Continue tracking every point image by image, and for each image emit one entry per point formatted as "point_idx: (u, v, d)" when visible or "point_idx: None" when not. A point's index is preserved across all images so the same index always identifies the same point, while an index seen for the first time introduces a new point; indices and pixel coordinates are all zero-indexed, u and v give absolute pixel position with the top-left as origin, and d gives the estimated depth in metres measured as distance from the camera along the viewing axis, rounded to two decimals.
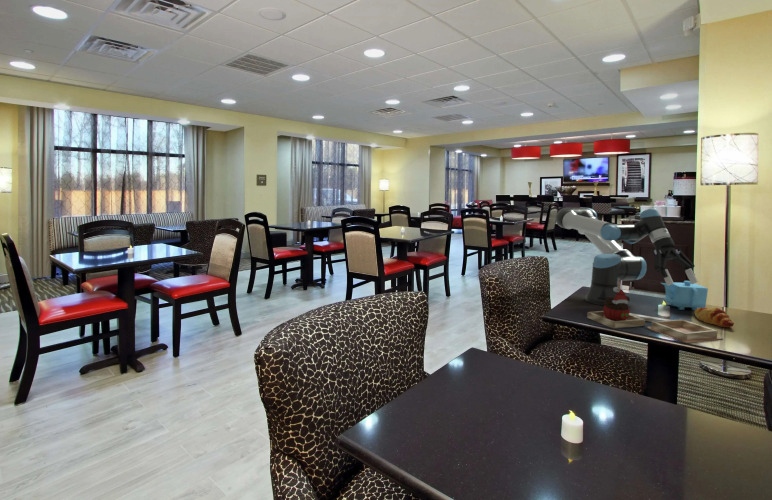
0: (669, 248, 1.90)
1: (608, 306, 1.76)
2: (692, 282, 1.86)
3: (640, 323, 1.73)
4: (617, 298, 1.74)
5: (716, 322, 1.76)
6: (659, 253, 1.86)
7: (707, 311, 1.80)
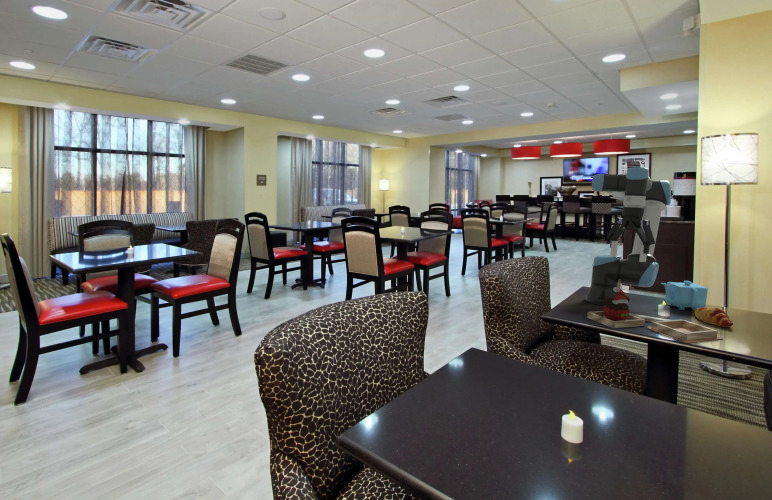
0: (631, 218, 1.71)
1: (608, 306, 1.76)
2: None
3: (640, 323, 1.73)
4: (617, 298, 1.74)
5: (715, 322, 1.76)
6: (615, 223, 1.78)
7: (707, 311, 1.80)
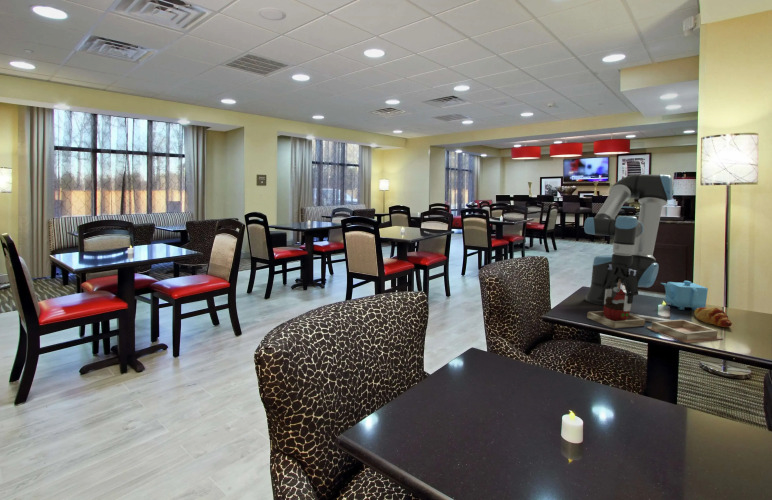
0: (620, 265, 1.74)
1: (608, 306, 1.76)
2: None
3: (640, 323, 1.73)
4: (617, 298, 1.74)
5: (714, 322, 1.76)
6: (606, 270, 1.80)
7: (706, 311, 1.80)
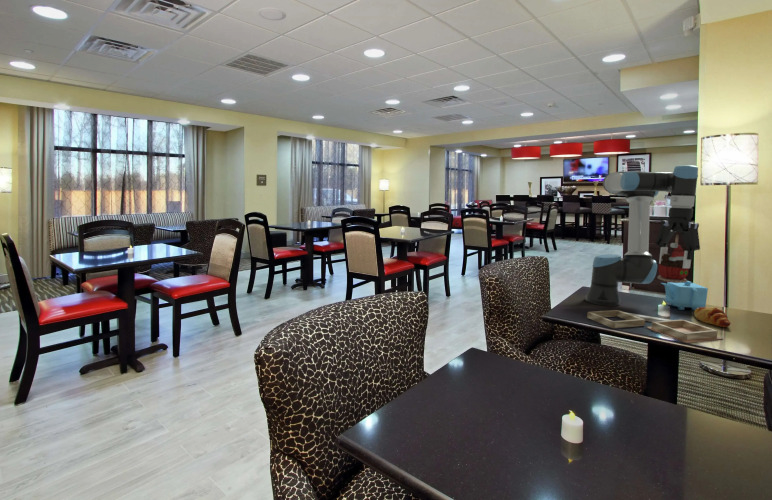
0: (679, 219, 1.61)
1: (664, 264, 1.63)
2: None
3: (640, 323, 1.73)
4: (675, 255, 1.61)
5: (713, 322, 1.76)
6: (662, 226, 1.68)
7: (705, 311, 1.80)
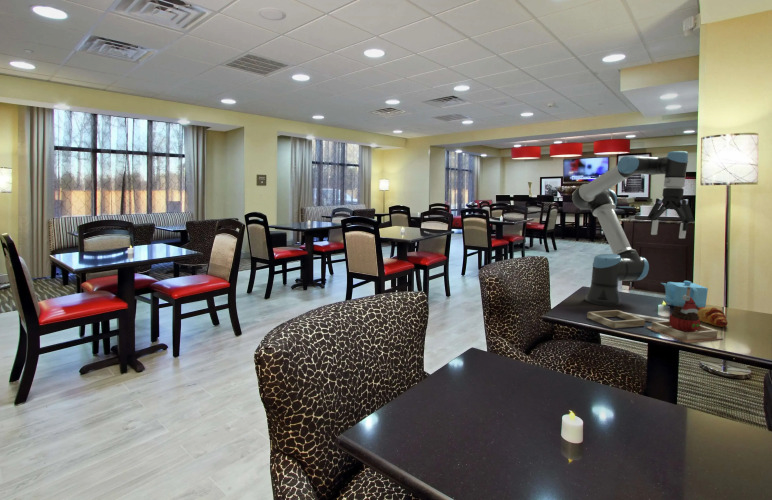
0: (671, 198, 1.85)
1: (676, 316, 1.63)
2: None
3: (640, 323, 1.73)
4: (687, 307, 1.61)
5: (710, 321, 1.76)
6: (656, 203, 1.92)
7: (703, 310, 1.81)
